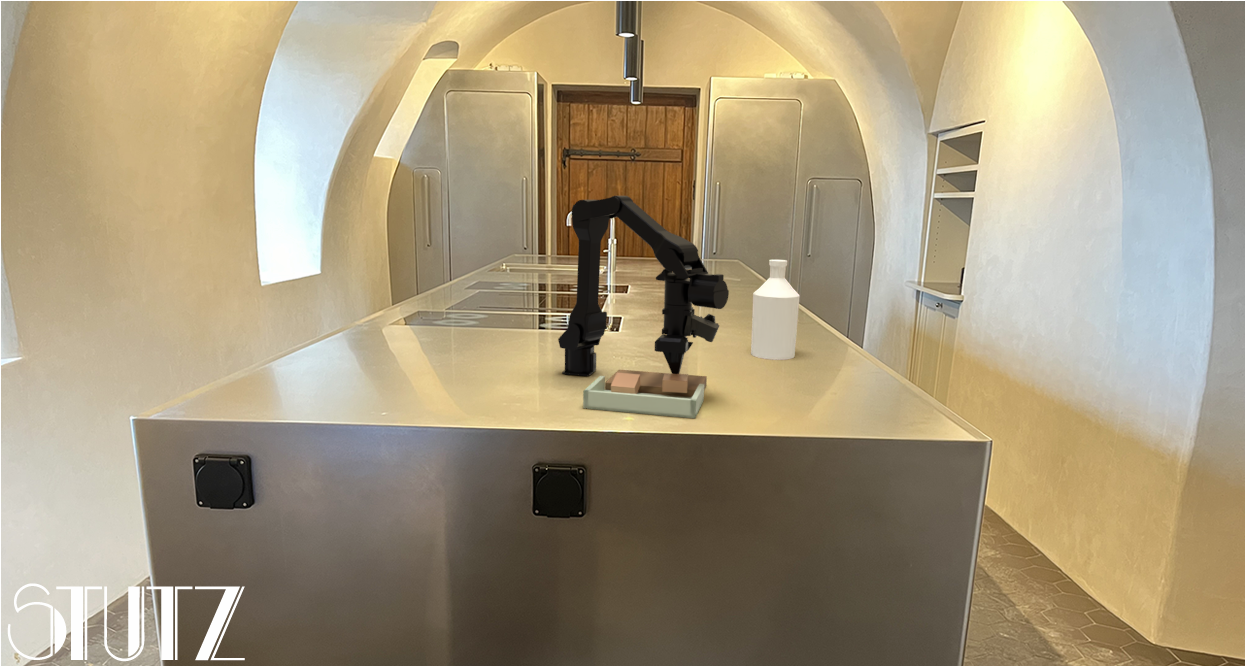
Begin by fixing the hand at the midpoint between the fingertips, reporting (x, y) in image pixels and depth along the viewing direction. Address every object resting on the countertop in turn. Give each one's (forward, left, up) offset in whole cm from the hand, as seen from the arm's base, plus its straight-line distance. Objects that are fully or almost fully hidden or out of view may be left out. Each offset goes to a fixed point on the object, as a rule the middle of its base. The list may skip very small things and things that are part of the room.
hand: (675, 376), depth 152 cm
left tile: (-10, -5, -2) cm, 11 cm away
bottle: (+18, +45, -4) cm, 49 cm away
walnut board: (-5, +3, -4) cm, 7 cm away
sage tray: (-5, -9, -4) cm, 11 cm away
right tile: (0, -3, -2) cm, 4 cm away
